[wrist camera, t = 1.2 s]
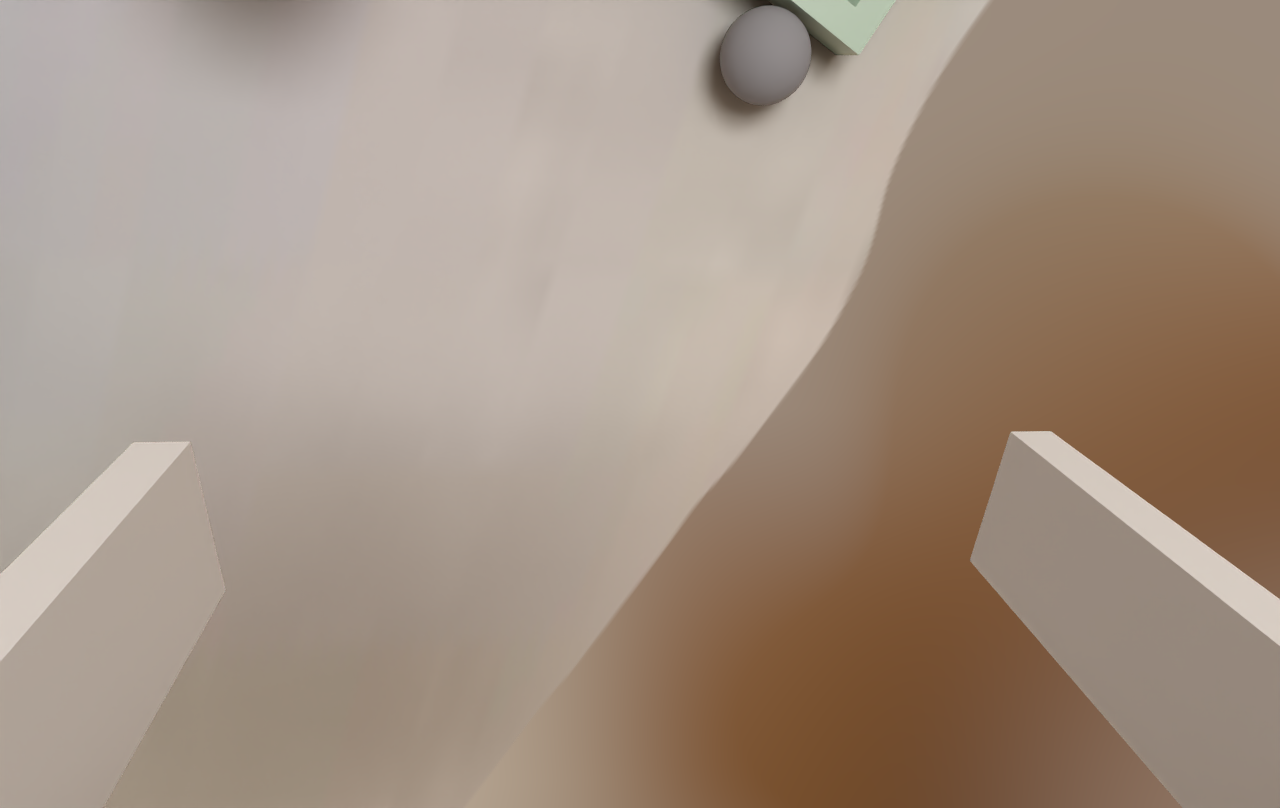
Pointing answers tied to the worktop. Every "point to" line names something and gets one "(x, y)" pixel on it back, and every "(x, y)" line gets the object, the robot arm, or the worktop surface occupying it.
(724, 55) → the gray ball
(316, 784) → the worktop surface
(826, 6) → the tray
